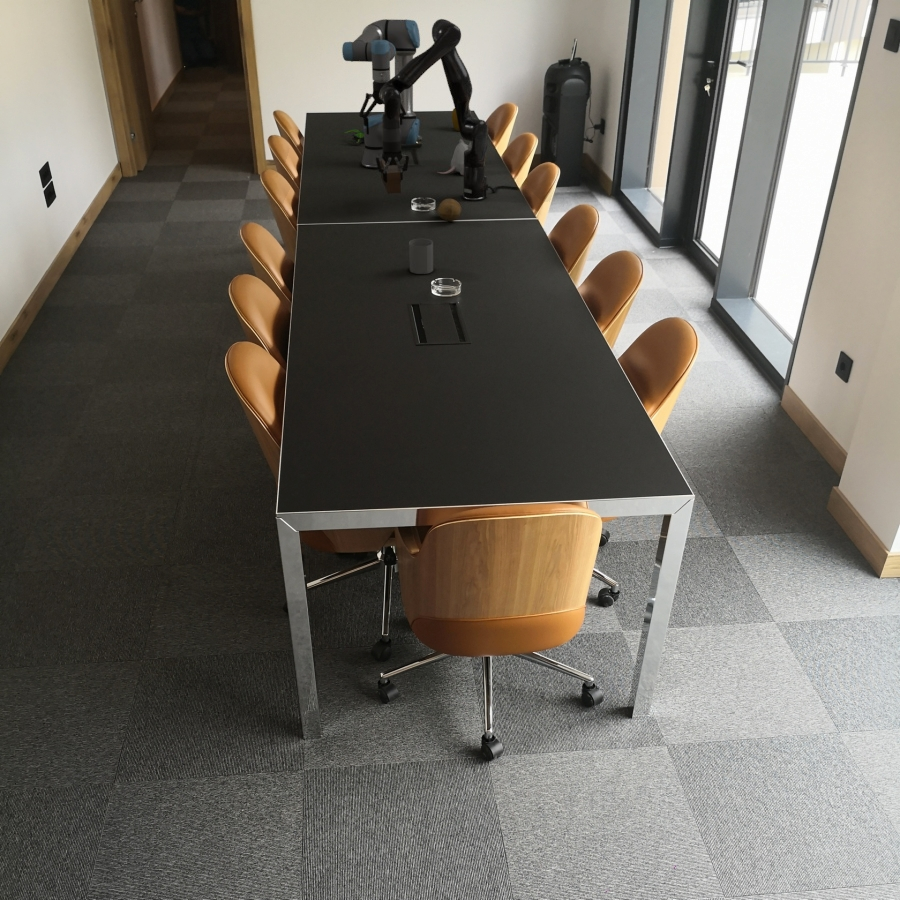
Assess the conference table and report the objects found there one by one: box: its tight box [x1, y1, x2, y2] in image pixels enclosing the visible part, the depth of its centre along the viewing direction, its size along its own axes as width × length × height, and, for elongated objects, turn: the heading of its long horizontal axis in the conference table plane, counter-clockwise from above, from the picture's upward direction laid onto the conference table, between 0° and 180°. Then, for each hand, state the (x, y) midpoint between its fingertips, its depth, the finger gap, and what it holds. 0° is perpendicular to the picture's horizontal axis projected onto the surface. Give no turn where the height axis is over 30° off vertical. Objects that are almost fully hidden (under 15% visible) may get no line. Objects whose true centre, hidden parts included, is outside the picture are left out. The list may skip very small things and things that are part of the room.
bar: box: [380, 158, 402, 195], centre depth 364 cm, size 24×5×8 cm, turn 11°
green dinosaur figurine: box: [343, 129, 365, 146], centre depth 465 cm, size 6×13×30 cm
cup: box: [408, 237, 434, 275], centre depth 305 cm, size 8×8×10 cm
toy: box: [437, 138, 472, 176], centre depth 408 cm, size 9×24×15 cm, turn 137°
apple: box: [451, 107, 472, 132], centre depth 487 cm, size 11×11×13 cm
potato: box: [437, 198, 462, 222], centre depth 353 cm, size 10×14×8 cm
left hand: (383, 133), depth 376 cm, fingers open, 13 cm apart
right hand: (393, 181), depth 357 cm, fingers closed on bar, 5 cm apart
